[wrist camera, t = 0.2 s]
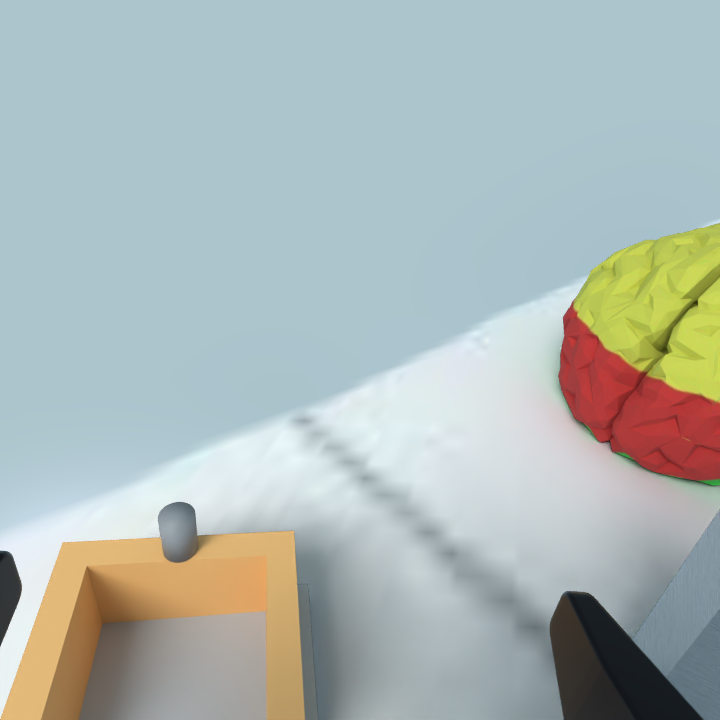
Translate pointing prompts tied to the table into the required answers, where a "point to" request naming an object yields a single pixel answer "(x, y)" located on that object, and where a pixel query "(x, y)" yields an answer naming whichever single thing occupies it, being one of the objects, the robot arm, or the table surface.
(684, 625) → the rectangular block
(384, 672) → the table surface
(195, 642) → the keeper bracket
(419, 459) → the table surface
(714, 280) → the brain model
